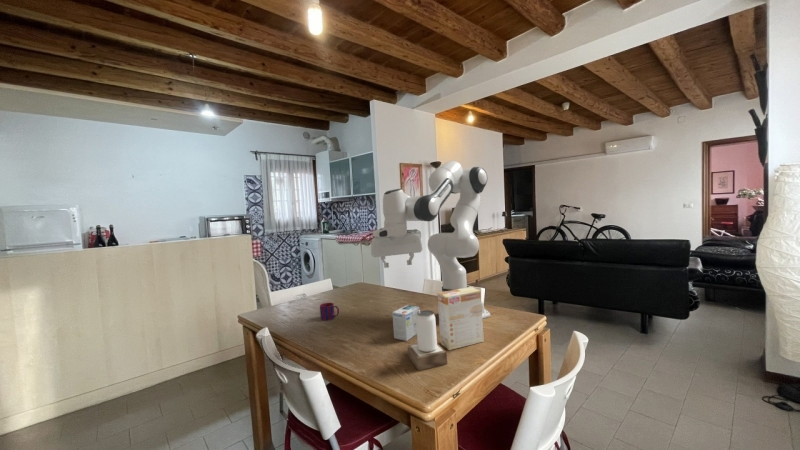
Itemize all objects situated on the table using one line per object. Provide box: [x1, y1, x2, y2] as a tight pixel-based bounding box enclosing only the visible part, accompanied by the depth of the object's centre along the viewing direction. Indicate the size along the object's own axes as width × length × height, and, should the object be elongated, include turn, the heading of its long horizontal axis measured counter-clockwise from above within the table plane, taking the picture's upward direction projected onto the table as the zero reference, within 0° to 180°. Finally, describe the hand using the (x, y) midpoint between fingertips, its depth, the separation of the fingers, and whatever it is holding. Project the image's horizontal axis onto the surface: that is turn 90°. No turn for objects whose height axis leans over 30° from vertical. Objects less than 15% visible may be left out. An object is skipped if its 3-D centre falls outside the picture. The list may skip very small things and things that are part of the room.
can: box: [416, 309, 438, 352], centre depth 103 cm, size 6×6×12 cm
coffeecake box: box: [437, 286, 485, 351], centre depth 115 cm, size 15×7×20 cm, turn 110°
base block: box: [407, 342, 448, 371], centre depth 103 cm, size 10×10×4 cm
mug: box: [319, 302, 340, 322], centre depth 151 cm, size 7×10×7 cm
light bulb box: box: [391, 304, 420, 342], centre depth 125 cm, size 11×7×11 cm, turn 145°
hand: (398, 266), depth 120 cm, fingers open, 8 cm apart
